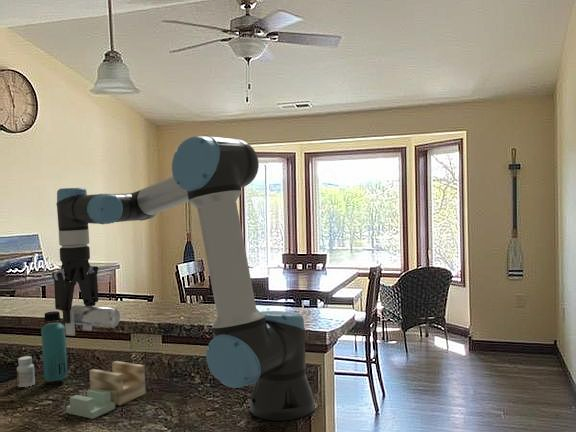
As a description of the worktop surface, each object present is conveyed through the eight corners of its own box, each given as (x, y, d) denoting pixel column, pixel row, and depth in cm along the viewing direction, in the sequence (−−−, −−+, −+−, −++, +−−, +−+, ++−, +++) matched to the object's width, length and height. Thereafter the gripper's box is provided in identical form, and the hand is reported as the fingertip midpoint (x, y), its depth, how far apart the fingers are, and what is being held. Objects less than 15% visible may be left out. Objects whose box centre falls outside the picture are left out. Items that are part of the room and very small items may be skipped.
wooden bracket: (145, 393, 152) (144, 365, 152) (119, 405, 144) (118, 375, 144) (117, 388, 157) (116, 360, 156) (90, 399, 149) (89, 370, 148)
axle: (120, 325, 152) (119, 306, 152) (106, 330, 148) (104, 310, 147) (83, 321, 159) (82, 303, 159) (68, 325, 154) (67, 307, 154)
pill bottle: (20, 383, 164) (19, 356, 164) (37, 382, 164) (35, 355, 164) (15, 388, 160) (13, 360, 159) (32, 387, 160) (30, 359, 160)
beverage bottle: (59, 386, 160) (56, 314, 159) (38, 386, 161) (34, 314, 160) (73, 379, 166) (69, 309, 165) (52, 378, 167) (48, 309, 166)
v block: (115, 408, 142) (114, 392, 142) (92, 419, 136) (91, 402, 136) (89, 402, 146) (88, 387, 146) (66, 412, 140) (65, 396, 140)
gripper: (90, 242, 165) (95, 324, 166) (35, 249, 149) (41, 339, 150) (110, 242, 161) (114, 326, 162) (55, 249, 145) (60, 342, 146)
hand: (79, 332), depth 156 cm, fingers closed on axle, 5 cm apart
